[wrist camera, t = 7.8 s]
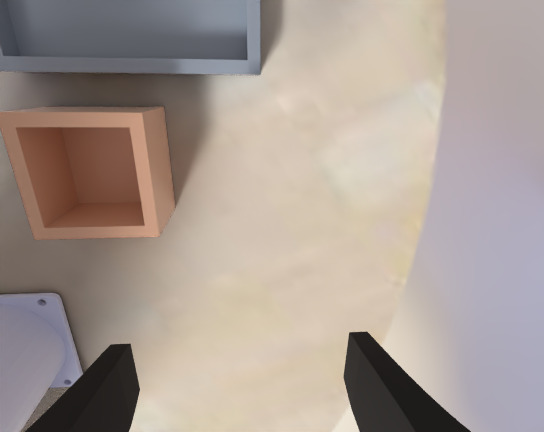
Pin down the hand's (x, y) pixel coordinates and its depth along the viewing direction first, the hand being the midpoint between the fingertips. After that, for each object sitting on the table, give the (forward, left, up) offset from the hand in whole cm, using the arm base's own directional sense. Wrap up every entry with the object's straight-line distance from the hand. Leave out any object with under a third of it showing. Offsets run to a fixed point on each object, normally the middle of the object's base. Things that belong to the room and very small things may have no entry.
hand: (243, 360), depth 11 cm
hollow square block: (-7, +4, -10) cm, 13 cm away
